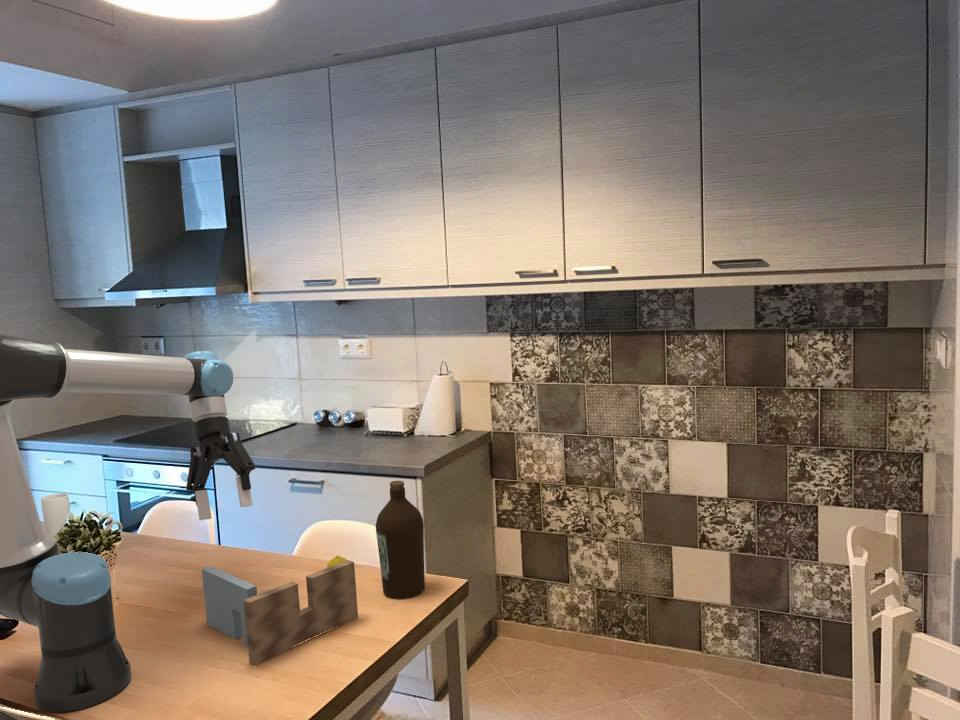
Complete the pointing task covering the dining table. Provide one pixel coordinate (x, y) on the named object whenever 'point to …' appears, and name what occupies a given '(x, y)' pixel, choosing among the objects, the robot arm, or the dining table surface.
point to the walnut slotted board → (299, 611)
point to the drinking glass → (55, 511)
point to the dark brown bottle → (401, 546)
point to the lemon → (336, 561)
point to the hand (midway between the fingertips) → (225, 513)
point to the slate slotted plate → (226, 602)
